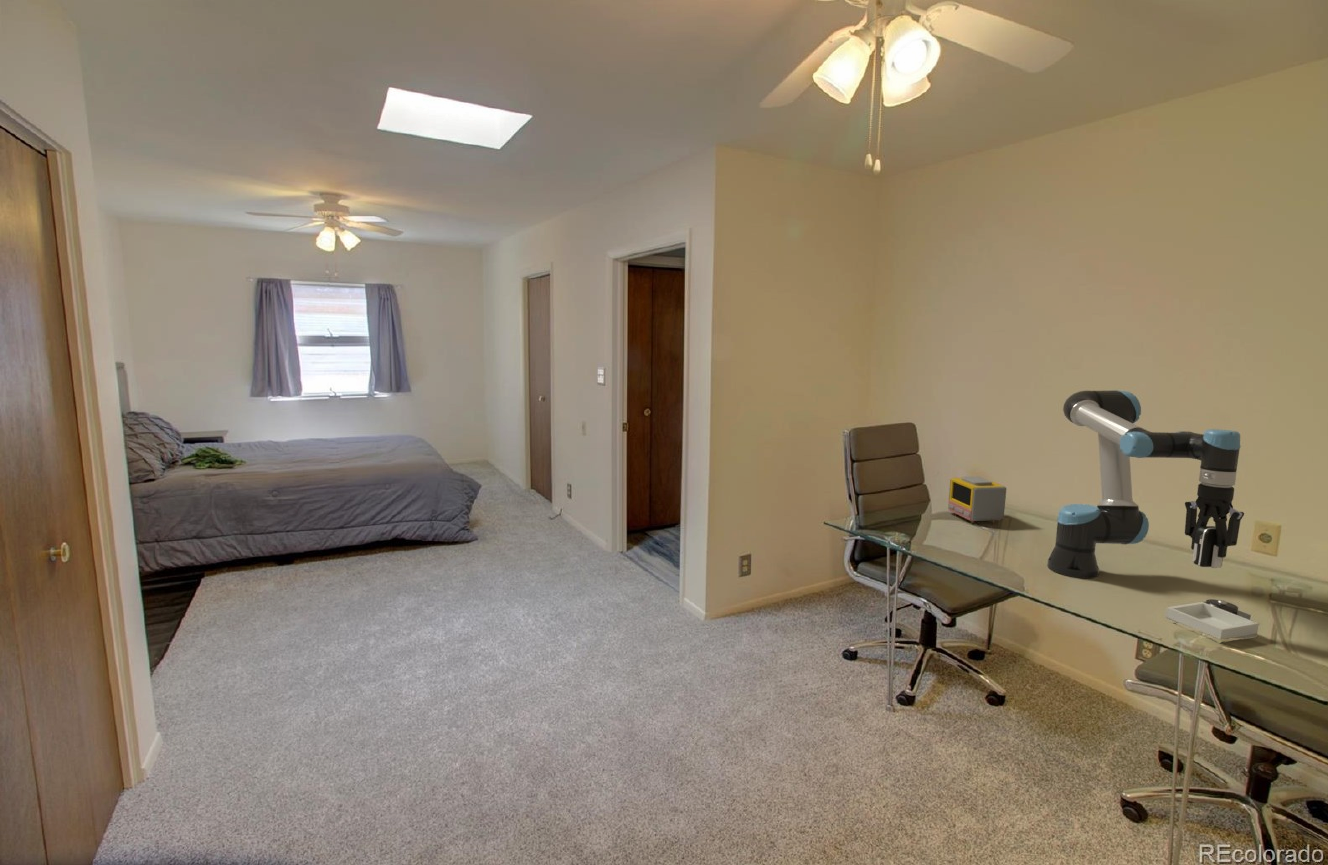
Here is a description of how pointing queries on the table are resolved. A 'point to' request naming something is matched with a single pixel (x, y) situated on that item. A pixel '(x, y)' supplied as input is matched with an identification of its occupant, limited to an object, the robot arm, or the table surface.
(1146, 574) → the table surface
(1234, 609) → the speaker
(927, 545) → the table surface
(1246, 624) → the tray
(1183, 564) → the table surface
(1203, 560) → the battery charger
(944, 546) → the table surface
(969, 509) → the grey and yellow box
